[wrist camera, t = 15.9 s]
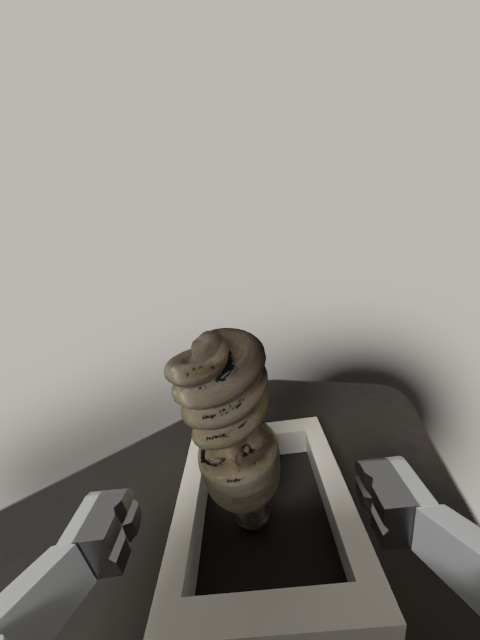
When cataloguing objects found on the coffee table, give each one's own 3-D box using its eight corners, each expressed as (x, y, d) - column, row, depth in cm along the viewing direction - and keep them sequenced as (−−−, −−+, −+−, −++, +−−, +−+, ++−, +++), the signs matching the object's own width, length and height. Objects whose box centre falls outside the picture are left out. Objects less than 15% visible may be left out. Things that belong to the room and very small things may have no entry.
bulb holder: (155, 671, 12) (141, 645, 11) (198, 451, 24) (193, 431, 23) (403, 653, 11) (406, 624, 10) (317, 437, 24) (316, 416, 23)
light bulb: (235, 593, 14) (173, 372, 9) (201, 511, 19) (147, 336, 14) (305, 527, 17) (284, 327, 12) (259, 470, 21) (231, 309, 16)
